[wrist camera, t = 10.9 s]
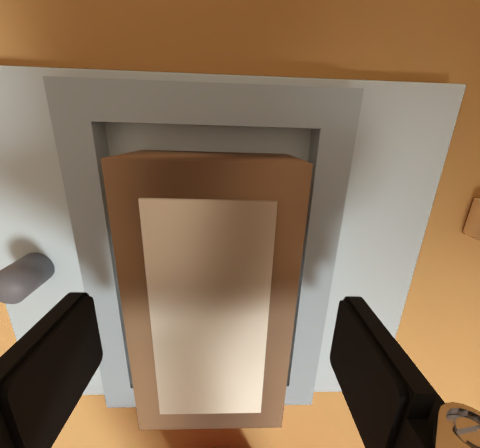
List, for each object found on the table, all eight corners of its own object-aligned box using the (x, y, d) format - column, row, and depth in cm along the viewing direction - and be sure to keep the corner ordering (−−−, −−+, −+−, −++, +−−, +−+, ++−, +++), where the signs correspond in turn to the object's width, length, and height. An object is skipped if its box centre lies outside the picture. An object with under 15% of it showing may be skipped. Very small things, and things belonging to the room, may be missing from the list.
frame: (286, 153, 12) (314, 164, 8) (269, 357, 16) (282, 431, 12) (142, 149, 12) (98, 158, 8) (160, 358, 16) (138, 433, 12)
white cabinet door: (448, 87, 12) (514, 74, 9) (372, 377, 18) (398, 422, 15) (-47, 68, 11) (-139, 47, 8) (44, 381, 17) (8, 430, 14)
